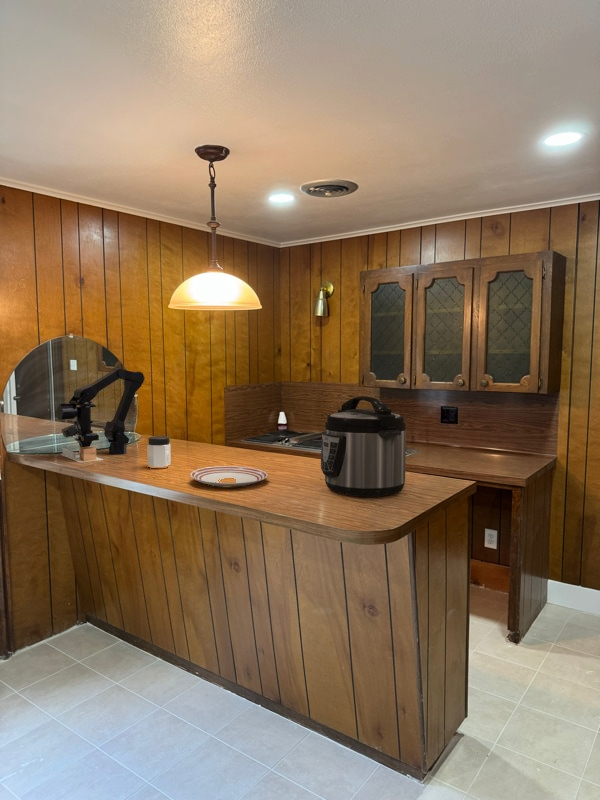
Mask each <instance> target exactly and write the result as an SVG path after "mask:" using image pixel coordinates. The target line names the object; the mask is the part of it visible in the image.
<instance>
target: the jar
mask: <svg viewBox="0 0 600 800" xmlns="http://www.w3.org/2000/svg"><path fill="white" fill-rule="evenodd" d="M147 439H148V440H147V441H148V444H147V445H146V448H147V449H146V451H147V454H146V455H147V459H146V460H147V462H146V463H147V464H146V465H148V466H152V467H164V466H168V465H170V464H171V441H170V440H171V439H170V437H169V436H165V435H163V436H162V435H160V436H159V435H158V436H149V437H148V438H147ZM148 466H147V467H148Z"/></svg>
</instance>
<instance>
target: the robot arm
mask: <svg viewBox="0 0 600 800" xmlns="http://www.w3.org/2000/svg"><path fill="white" fill-rule="evenodd" d="M119 379H121V380H123V381H124V382H123V385H124V390H123V393H122V396H121V398H120V400H119V403H118V407H117V409H116V412H115V414H114V417H113V419H112V420H111V421H109V420H107V421H106V424H105V427H104V428H103V430H104V433H103V434H104V437H105V438H106V439H107V443H108V444H109V446H108V454H109V455H113V456H119V455H121V456H122V455H126V454H127V450H128V449H127V445H128V444H129V443H130V438H129V437H128V436H127V435H126V434H125V430H126V426H125V422H126V419H127V416H128V413H129V410H130V408H131V406H132V402H133V400H134V398H135V395H136V393H137V392H138V391H139V389H141V387H142V385H143V384H144V381H145V379H146V378H145V375H144V373H143V372H141V371H135V370H133V371H132V370H131V371H130V370H127V369H123V368H117V367H115V368H114V369H112V370H111V371H110V372H108V373H106V374H105V375H103V376H101V377H100V378H98V379H97V380H95V381H93V382H91V383H89V384H86V385H83V386H80V387H78V388H76V389H75V390H74V391H73V396H72V397H71V398H70V400H69V401H68V402H66V403H65V402H59V403H58V406H57V408H56V412H55V414H56V417H57V420H59V421H63V420H67V421H68V420H74V419H76V420H74V421H73V424H72V425H67V426H66V427H64V428H62V429H61V432H62V435H63V437H64V438H67V439H68V438H70V437H71V438H73V437H75V438H74V439H73V440H75V441H76V442H77V443H78V445H79V447H90V446H92V444H93V442H94V441H99V440H100V435H99V434H98V433H97V432H94V431H93V430H92V424H93V423H94V422H93V420H92V408H96V407H97V405H96V404H94V403H93V401H92V400H94V399H95V398H96V397H97V395H98V393H100V391H102V390H104V389H105V388H107V387H108V386H110V385H111V384H113V383H114V382H117V381H118V380H119Z"/></svg>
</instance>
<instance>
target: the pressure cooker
mask: <svg viewBox="0 0 600 800" xmlns="http://www.w3.org/2000/svg"><path fill="white" fill-rule="evenodd" d="M360 401H366V402H368V403H370V404H371V406H372V408H373V409H370V408H358V405H359V403H360ZM326 417H327V418H326V422H325V425H324V426H325V427H324V431H322V434H321V435H322V436H321V437H322V438H321V447H320V448H321V449H320V451H321V452H320V454H321V455H320V470H321V471H322V474H323V475H324V481H325V485H326V487H327V488H328V489H329V490H330V491H331V492H334V493H336V494H341V495H345V496H354V497H358V498H360V497H362V498H370V497H371V498H373V497H384V496H387V495H396V494H398V493H400V492H402V490H403V489H404V486H405V483H406V463H407V462H406V454H407V453H406V451H407V450H406V447H407V446H406V442H407V441H406V440H407V439H406V438H407V425H406V422H405V420H404V419H405V418H404V415H402V414H397V413H394V412H392V409H391V408H390V406H389V405H387V404H385V403H384V402H382V401H381V400H379V399H377V398H375V397H371V396H365V395H361V396H355V397H352V398H351V399H349V400H347V401H345V402H344V403H342V404H341V409H340V408H339V409H337V412H335V413H331V414H328V415H327V416H326Z"/></svg>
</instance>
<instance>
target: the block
mask: <svg viewBox="0 0 600 800" xmlns="http://www.w3.org/2000/svg"><path fill="white" fill-rule="evenodd" d="M79 447H80V446H79ZM79 455H80V460H82V461H88V462H92V461H91V460H96V457H97V448H96V447H95V446H92V445H90V447H80V453H79Z"/></svg>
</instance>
